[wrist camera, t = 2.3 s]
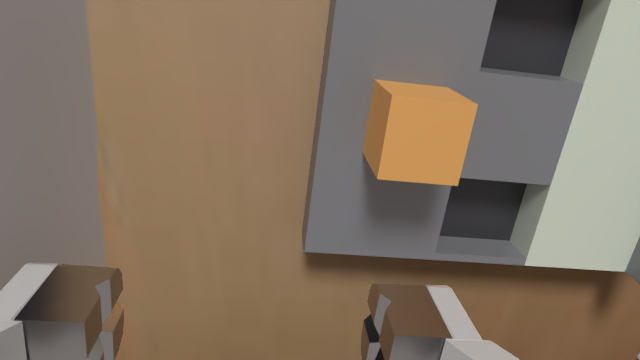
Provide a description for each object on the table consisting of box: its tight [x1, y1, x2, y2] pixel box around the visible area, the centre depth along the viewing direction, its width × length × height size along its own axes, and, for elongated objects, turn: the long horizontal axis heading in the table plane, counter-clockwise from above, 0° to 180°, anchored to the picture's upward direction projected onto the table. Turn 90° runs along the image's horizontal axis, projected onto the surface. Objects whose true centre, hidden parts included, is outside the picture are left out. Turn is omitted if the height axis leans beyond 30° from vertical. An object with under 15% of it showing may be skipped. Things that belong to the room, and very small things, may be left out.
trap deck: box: [302, 0, 640, 284], centre depth 26 cm, size 22×17×4 cm
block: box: [363, 79, 478, 186], centre depth 23 cm, size 4×4×4 cm
